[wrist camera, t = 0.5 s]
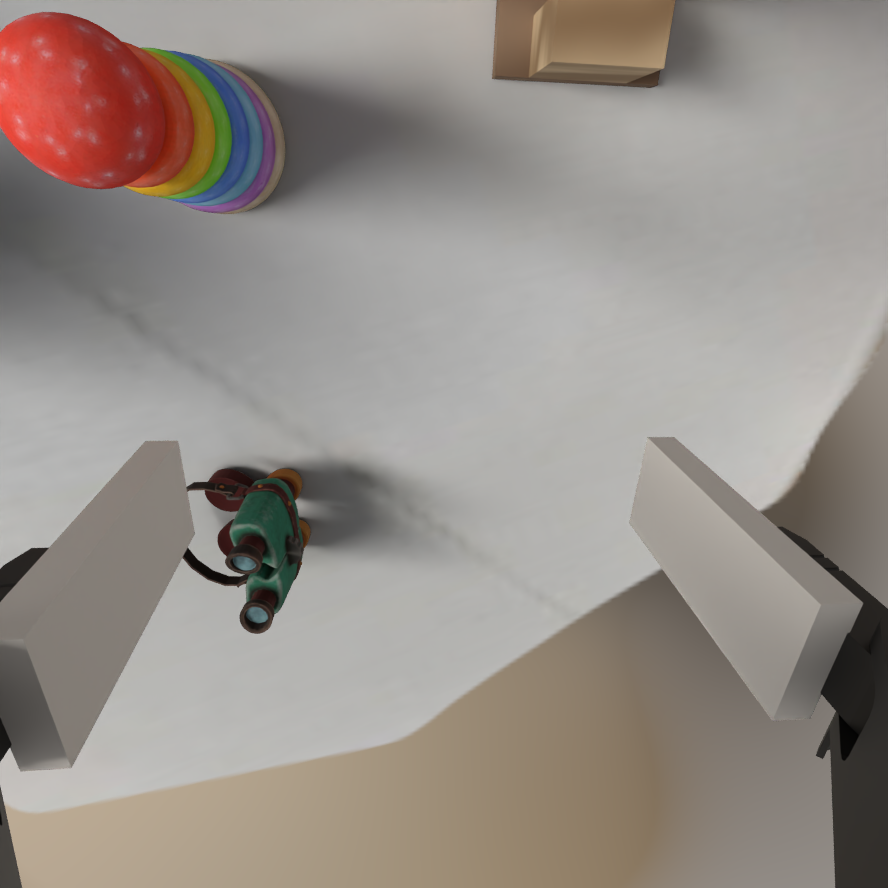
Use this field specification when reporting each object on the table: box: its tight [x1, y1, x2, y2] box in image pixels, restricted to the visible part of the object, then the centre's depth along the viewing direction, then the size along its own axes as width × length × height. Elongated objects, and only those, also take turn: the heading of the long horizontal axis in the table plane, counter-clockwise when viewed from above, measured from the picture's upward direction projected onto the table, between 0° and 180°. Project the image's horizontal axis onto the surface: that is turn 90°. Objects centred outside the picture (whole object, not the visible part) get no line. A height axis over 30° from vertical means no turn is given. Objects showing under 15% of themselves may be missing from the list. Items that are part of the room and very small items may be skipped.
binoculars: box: [182, 469, 311, 634], centre depth 40 cm, size 9×11×10 cm
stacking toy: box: [0, 12, 285, 214], centre depth 25 cm, size 8×8×19 cm
